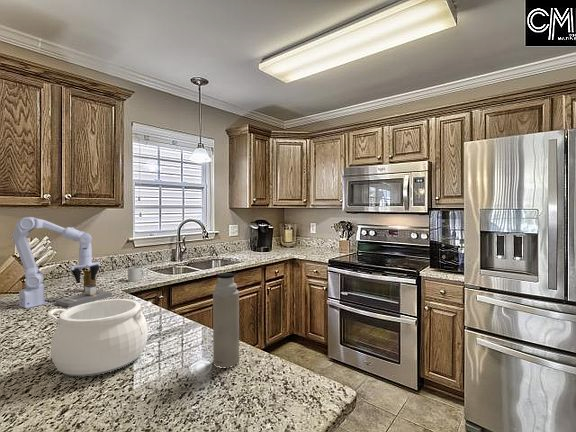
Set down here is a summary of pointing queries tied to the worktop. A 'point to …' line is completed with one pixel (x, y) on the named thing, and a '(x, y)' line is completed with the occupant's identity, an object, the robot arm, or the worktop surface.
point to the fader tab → (90, 289)
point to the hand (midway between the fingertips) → (85, 281)
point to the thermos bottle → (225, 321)
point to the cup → (135, 274)
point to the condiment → (88, 279)
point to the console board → (82, 298)
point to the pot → (98, 336)
